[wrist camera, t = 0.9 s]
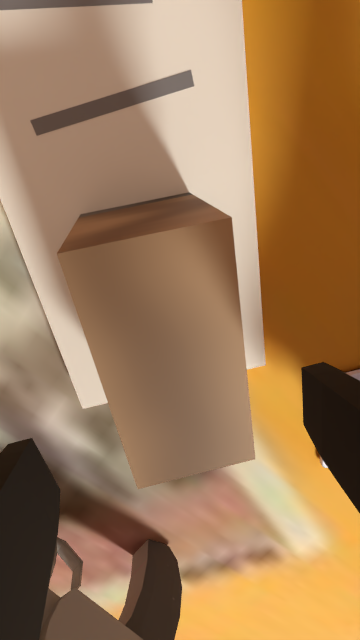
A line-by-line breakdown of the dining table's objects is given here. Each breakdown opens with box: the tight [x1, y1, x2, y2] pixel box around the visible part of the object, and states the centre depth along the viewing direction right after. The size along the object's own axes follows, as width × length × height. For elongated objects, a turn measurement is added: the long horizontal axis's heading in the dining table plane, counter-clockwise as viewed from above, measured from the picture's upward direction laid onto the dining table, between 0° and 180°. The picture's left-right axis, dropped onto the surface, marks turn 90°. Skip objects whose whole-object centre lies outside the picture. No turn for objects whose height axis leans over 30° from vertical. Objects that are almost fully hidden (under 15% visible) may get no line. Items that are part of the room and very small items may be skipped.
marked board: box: [0, 0, 266, 409], centre depth 13 cm, size 10×24×2 cm, turn 10°
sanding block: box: [57, 192, 255, 489], centre depth 13 cm, size 4×9×6 cm, turn 10°
